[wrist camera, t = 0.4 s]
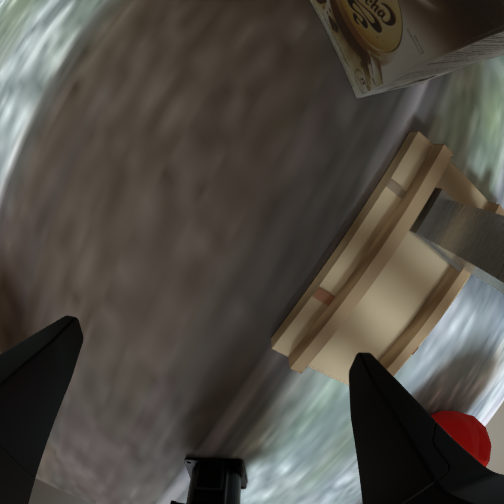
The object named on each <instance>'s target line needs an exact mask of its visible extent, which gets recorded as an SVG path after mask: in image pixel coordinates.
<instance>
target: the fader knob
mask: <svg viewBox="0 0 504 504" xmlns="http://www.w3.org/2000/svg"><path fill="white" fill-rule="evenodd" d="M409 232H411V233H412V234H413V235H414V236H415V237H417V238H418V239H419V240H420V241H422V242H423V243H424V244H425V245H426V246H427V247H429V248H430V249H431V250H432V251H433V252H434V253H436V254H437V255H438V256H439V257H440V258H441V259H442V260H444V261H445V262H446V263H447V264H448V265H449V266H451V267H452V268H454V269H456V270H457V271H459V272H460V271H461V269H462V268H463V269H464V270H466V271H467V272H469V273H471V274H472V275H474V276H475V277H477V278H479V279H480V280H482V281H483V282H485V283H486V284H488V285H489V286H491V287H493V288H494V289H496V290H497V291H499V292H500V293H502V294H503V295H504V216H503V215H500V214H497V213H493V212H490V211H487V210H483V209H480V208H477V207H473V206H470V205H466V204H463V203H459V202H455V201H454V200H453V199H452V198H451V197H450V196H449V195H448V194H447V193H446V192H445V191H444V190H443V189H441V188H436V187H435V188H434V190H433V192H432V194H431V195H430V197H429V199H428V200H427V202H426V204H425V205H424V207H423V209H422V210H421V212H420V213H419V215H418V217H417V218H416V220H415V222H414V223H413V225H412V226H411V228H410V229H409Z"/></svg>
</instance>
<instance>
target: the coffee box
mask: <svg viewBox="0 0 504 504" xmlns="http://www.w3.org/2000/svg"><path fill="white" fill-rule="evenodd" d="M310 1H311V3H312V5H313V7H314V9H315V10H316V12H317V14H318V16H319V18H320V20H321V22H322V24H323V25H324V27H325V29H326V31H327V33H328V35H329V37H330V39H331V42H332V44H333V46H334V48H335V50H336V52H337V54H338V56H339V59H340V61H341V63H342V65H343V68H344V70H345V72H346V74H347V77H348V79H349V81H350V84H351V86H352V89H353V91H354V93H355V96H356V98H362V97H366V96H370V95H374V94H378V93H382V92H387V91H391V90H395V89H400V88H405V87H409V86H414V85H418V84H422V83H424V82H426V81H428V80H430V79H433V78H435V77H438V76H441V75H444V74H447V73H449V72H452V71H455V70H458V69H460V68H463V67H466V66H469V65H472V64H475V63H478V62H481V61H484V60H487V59H490V58H494V57H497V56H500V55H504V0H310Z"/></svg>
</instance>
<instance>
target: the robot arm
mask: <svg viewBox="0 0 504 504" xmlns="http://www.w3.org/2000/svg"><path fill="white" fill-rule="evenodd" d="M82 343H83V334H82V330H81V327H80V323H79V320H78V319H77V318H76V317H72V316H64V317H63V318H61V319H59V320H57V321H56V322H54V323H52V324H51V325H49V326H47V327H45V328H44V329H42V330H40V331H39V332H37V333H35V334H34V335H32V336H30V337H28V338H27V339H25V340H23V341H22V342H20V343H18V344H17V345H15V346H13V347H12V348H10V349H8V350H7V351H5V352H4V353H2V354H0V504H28V503H29V499H30V495H31V491H32V488H33V485H34V481H35V477H36V474H37V471H38V467H39V464H40V461H41V458H42V455H43V452H44V449H45V446H46V443H47V440H48V437H49V435H50V432H51V429H52V426H53V424H54V421H55V418H56V416H57V413H58V411H59V408H60V405H61V403H62V400H63V398H64V395H65V393H66V391H67V388H68V386H69V383H70V381H71V378H72V375H73V372H74V368H75V365H76V362H77V359H78V356H79V353H80V349H81V346H82ZM349 390H350V411H351V421H352V427H353V434H354V440H355V447H356V454H357V461H358V468H359V476H360V484H361V492H362V501H363V504H504V475H502V474H498V473H495V472H493V471H491V470H489V469H487V468H486V467H485V466H484V465H482V464H481V463H480V462H479V461H478V460H477V459H476V458H474V457H473V456H472V455H471V454H470V453H469V452H467V451H466V450H465V449H464V448H463V447H462V446H461V445H459V444H458V443H457V442H456V441H455V440H454V439H453V438H452V437H451V436H450V435H449V434H448V433H447V432H446V431H445V430H444V429H443V428H442V427H441V426H440V425H439V424H438V423H437V422H436V421H435V420H434V419H433V418H432V416H431V415H430V414H429V413H428V412H427V411H426V410H425V409H424V408H423V407H422V406H421V405H420V404H419V403H418V402H417V401H416V400H415V399H414V398H413V396H412V395H411V394H410V393H409V392H408V391H407V390H406V389H405V388H404V387H403V386H402V385H401V384H400V383H399V382H398V381H397V380H396V379H395V378H394V377H393V376H392V375H391V374H390V372H389V371H388V370H387V369H386V368H385V367H384V366H383V365H382V364H381V363H380V362H379V361H378V360H377V359H376V358H375V357H374V356H373V355H372V354H371V353H369V352H359V353H357V354H356V356H355V359H354V361H353V363H352V365H351V367H350V370H349ZM435 422H436V423H435ZM184 463H185V465H186V468H187V470H188V473H189V476H190V478H191V480H190V486H189V491H188V497H187V502H186V504H240V495H241V489H246V487H247V484H246V478H245V471H244V465H243V461H242V460H240V459H206V458H189V457H188V458H185V461H184ZM170 504H184V503H179V502H176V501H172V500H171V503H170Z"/></svg>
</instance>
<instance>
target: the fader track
mask: <svg viewBox="0 0 504 504" xmlns="http://www.w3.org/2000/svg"><path fill="white" fill-rule="evenodd" d="M453 154H454V153H453V152H452V151H451V150H450V149H449V148H448V147H447V146H446V145H445V144H432V143H431V142H430V141H429V140H428V139H427V138H426V137H425V136H424V135H422V134H421V133H420V132H419V131H416V132H409V134H408V135H407V137H406V139H405V141H404V142H403V144H402V146H401V147H400V149H399V151H398V152H397V154H396V156H395V157H394V159H393V161H392V162H391V164H390V166H389V167H388V169H387V171H386V172H385V174H384V175H383V177H382V179H381V180H380V182H379V183H378V185H377V187H376V188H375V190H374V191H373V193H372V195H371V196H370V198H369V199H368V201H367V202H366V204H365V205H364V207H363V209H362V210H361V212H360V213H359V215H358V216H357V218H356V219H355V221H354V222H353V224H352V225H351V227H350V228H349V230H348V231H347V233H346V234H345V236H344V237H343V239H342V240H341V242H340V243H339V245H338V246H337V248H336V249H335V251H334V252H333V254H332V255H331V256H330V258H329V259H328V261H327V262H326V264H325V265H324V267H323V268H322V269H321V271H320V272H319V274H318V275H317V276H316V278H315V279H314V281H313V282H312V284H311V285H310V286H309V288H308V289H307V291H306V292H305V293H304V295H303V296H302V297H301V299H300V300H299V302H298V303H297V304H296V306H295V307H294V308H293V310H292V311H291V312H290V314H289V315H288V316H287V318H286V319H285V320H284V322H283V323H282V324H281V326H280V327H279V328H278V330H277V331H276V332H275V334H274V335H273V336H272V338H271V345H272V349H273V350H275V351H277V352H279V353H281V354H283V355H285V356H287V357H288V359H289V366H290V369H292V370H294V371H296V372H299V373H302V372H303V371H304V370H305V368H306V367H307V366H308V367H310V368H312V369H314V370H316V371H319V372H321V373H323V374H325V375H327V376H329V377H331V378H334V379H336V380H338V381H340V382H342V383H345V384H347V385H349V370H350V367H351V365H352V363H353V361H354V359H355V356H356V354H357V353H359V352H369V353H371V354H372V355H373V356H374V357H375V358H376V359H377V360H378V361H379V362H380V363H381V364H382V365H383V366H384V367H385V368H386V369H387V370H388V371H389V372H390V374H391V375H392V376H394V375H395V374H396V373H397V372H398V370H399V369H400V368H401V367H402V366H403V365H404V364H405V362H406V361H407V360H408V359H409V358H410V357H411V355H413V354H414V353H415V351H416V350H417V349H418V347H419V346H420V345H421V343H422V342H423V341H424V340H425V338H426V337H427V336H428V335H429V333H430V332H431V331H432V329H433V328H434V327H435V326H436V324H437V323H438V322H439V320H440V319H441V318H442V316H443V315H444V313H445V312H446V311H447V309H448V308H449V306H450V305H451V304H452V302H453V301H454V299H455V298H456V296H457V295H458V294H459V292H460V291H461V289H462V288H463V286H464V285H465V283H466V282H467V280H468V278H469V277H470V275H471V273H469V272H467V271H466V270H464V269H463V268H462V269H461V271H460V272H459V271H457V270H456V269H454V268H452V267H451V266H449V265H448V264H447V263H446V262H445V261H444V260H442V259H441V258H440V257H439V256H438V255H437V254H436V253H434V252H433V251H432V250H431V249H430V248H429V247H427V246H426V245H425V244H424V243H423V242H422V241H420V240H419V239H418V238H417V237H415V236H414V235H413V234H412V233H411V232H409V229H410V228H411V226H412V225H413V223H414V222H415V220H416V218H417V217H418V215H419V213H420V212H421V210H422V209H423V207H424V205H425V204H426V202H427V200H428V199H429V197H430V195H431V194H432V192H433V190H434V188H435V187H436V188H441V189H443V190H444V191H445V192H446V193H447V194H448V195H449V196H450V197H451V198H452V199H453V200H454V201H455V202H459V203H463V204H466V205H470V206H473V207H477V208H480V209H483V210H487V211H490V212H493V213H497V214H500V215H503V216H504V210H503V208H502V207H501V206H500V205H499V204H495V203H492V202H488V201H487V200H486V198H485V197H484V196H483V195H482V194H481V193H480V192H479V190H478V189H477V188H476V187H475V186H474V185H473V184H472V183H471V182H470V181H469V180H468V178H467V177H466V176H465V175H464V174H463V173H462V172H461V171H460V170H459V169H458V168H457V167H456V166H455V165H454V164H453V163H452V162H451V161H450V160H451V158H452V156H453Z"/></svg>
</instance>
